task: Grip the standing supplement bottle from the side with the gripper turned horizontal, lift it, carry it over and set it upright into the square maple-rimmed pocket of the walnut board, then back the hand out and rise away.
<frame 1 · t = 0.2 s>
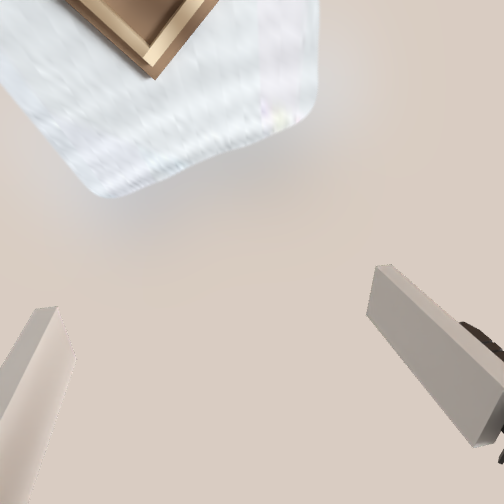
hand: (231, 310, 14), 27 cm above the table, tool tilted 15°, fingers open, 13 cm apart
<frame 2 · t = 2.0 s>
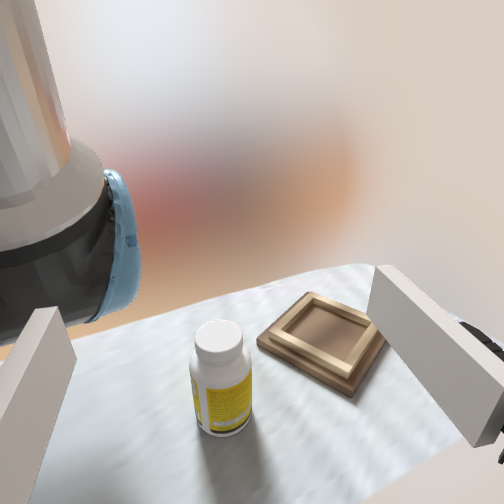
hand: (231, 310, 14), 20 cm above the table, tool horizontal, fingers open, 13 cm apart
supplement bottle: (224, 413, 32), on the table
walnut board: (325, 338, 40), on the table
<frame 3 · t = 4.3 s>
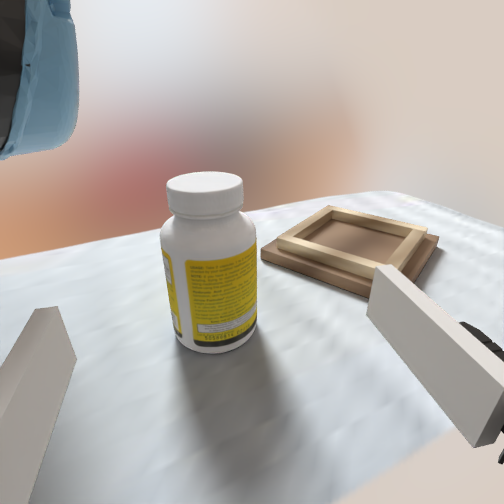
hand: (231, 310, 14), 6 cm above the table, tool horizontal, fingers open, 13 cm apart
supplement bottle: (216, 328, 22), on the table
walnut board: (351, 252, 30), on the table
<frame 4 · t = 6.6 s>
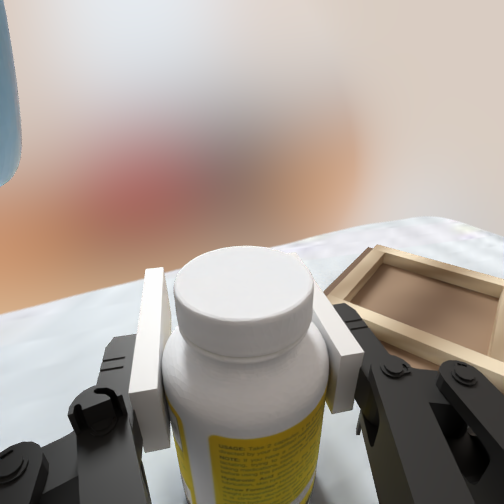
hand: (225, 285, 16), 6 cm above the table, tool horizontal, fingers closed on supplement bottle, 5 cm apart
supplement bottle: (248, 473, 14), on the table, touching gripper
walnut board: (418, 316, 23), on the table
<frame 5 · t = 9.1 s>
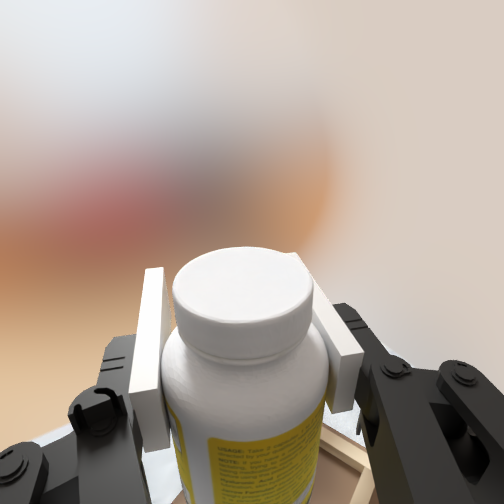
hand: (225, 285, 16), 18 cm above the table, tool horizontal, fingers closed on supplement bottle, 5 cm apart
supplement bottle: (248, 475, 14), point 12 cm above the table, touching gripper
walnut board: (287, 494, 24), on the table
when the fingers open (8 cm above the table, at t = 11.5 s): supplement bottle drops 1 cm, resting on walnut board.
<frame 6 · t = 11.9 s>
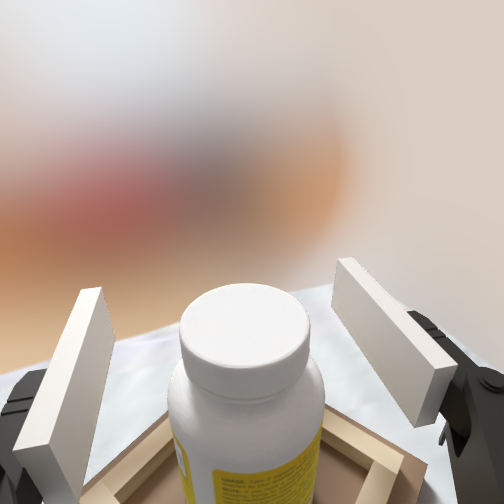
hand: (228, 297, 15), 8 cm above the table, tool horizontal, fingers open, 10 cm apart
supplement bottle: (249, 494, 15), point 1 cm above the table, touching walnut board
walnut board: (249, 501, 15), on the table
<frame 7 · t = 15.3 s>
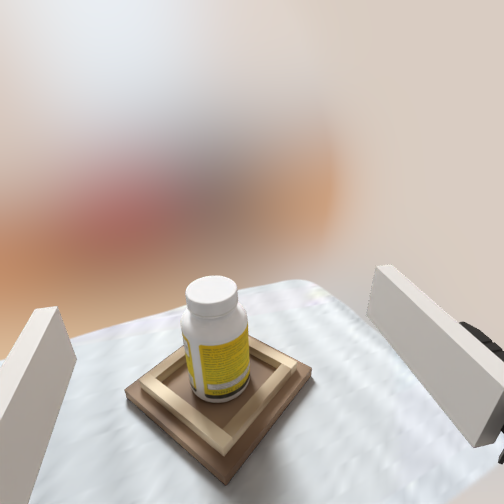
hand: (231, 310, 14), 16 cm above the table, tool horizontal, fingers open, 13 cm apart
supplement bottle: (220, 380, 30), point 1 cm above the table, touching walnut board
walnut board: (221, 386, 30), on the table
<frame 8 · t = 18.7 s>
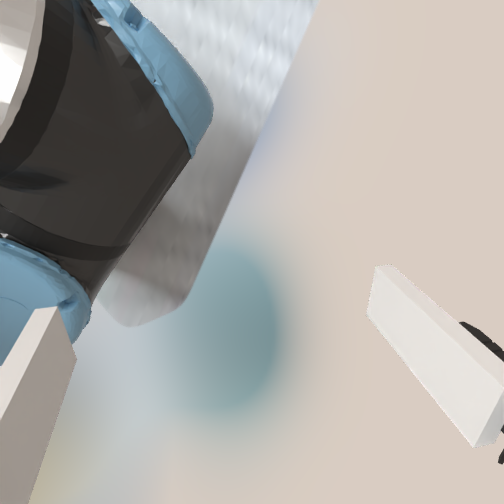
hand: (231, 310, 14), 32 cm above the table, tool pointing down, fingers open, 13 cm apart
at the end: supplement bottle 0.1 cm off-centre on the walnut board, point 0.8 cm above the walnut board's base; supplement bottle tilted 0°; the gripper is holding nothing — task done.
